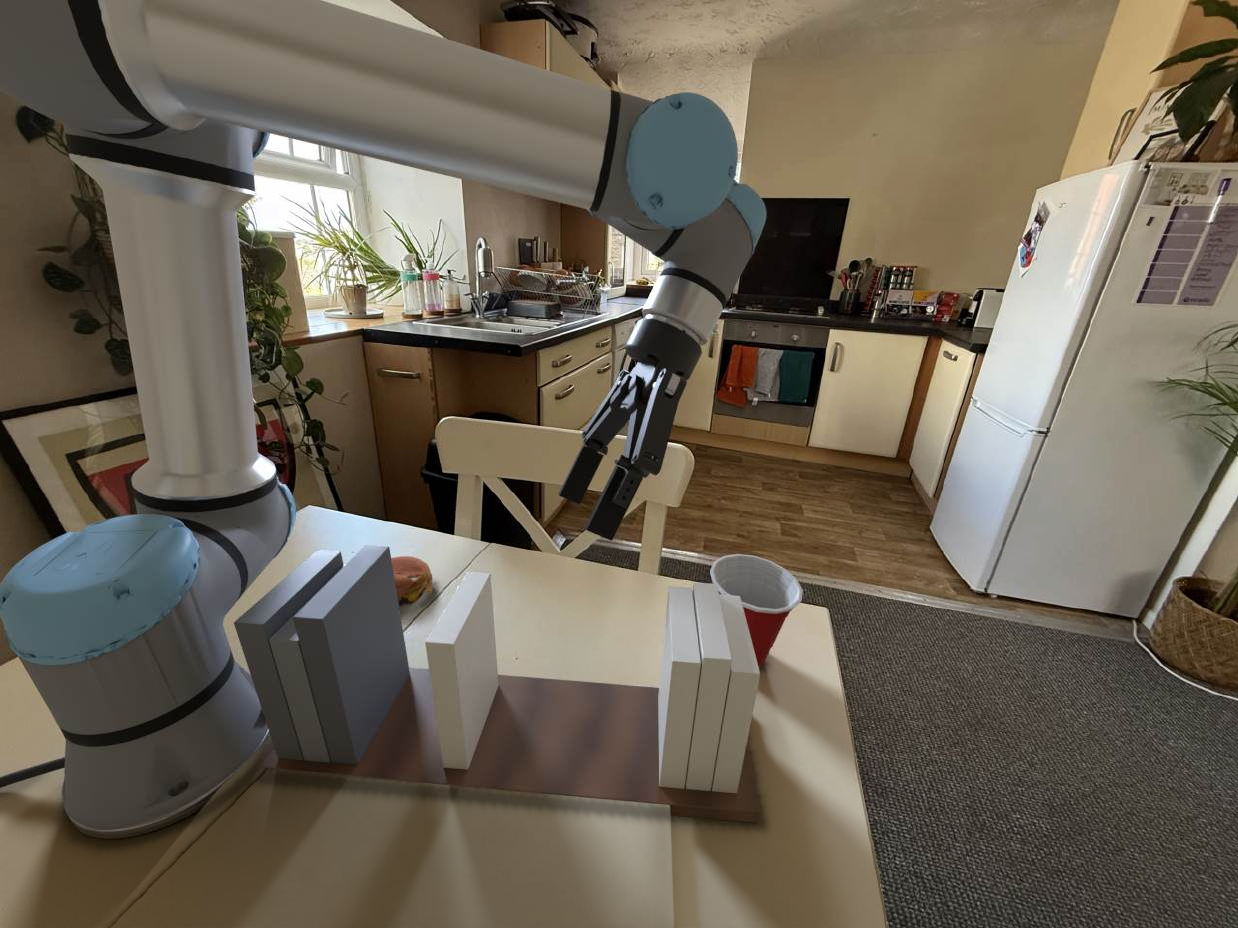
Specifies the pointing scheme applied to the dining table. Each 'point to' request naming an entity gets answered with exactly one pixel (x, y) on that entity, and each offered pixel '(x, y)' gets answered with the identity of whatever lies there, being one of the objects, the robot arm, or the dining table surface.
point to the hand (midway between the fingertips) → (581, 515)
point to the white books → (705, 690)
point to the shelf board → (541, 747)
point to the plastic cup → (758, 595)
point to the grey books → (327, 654)
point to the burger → (411, 578)
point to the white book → (463, 668)
